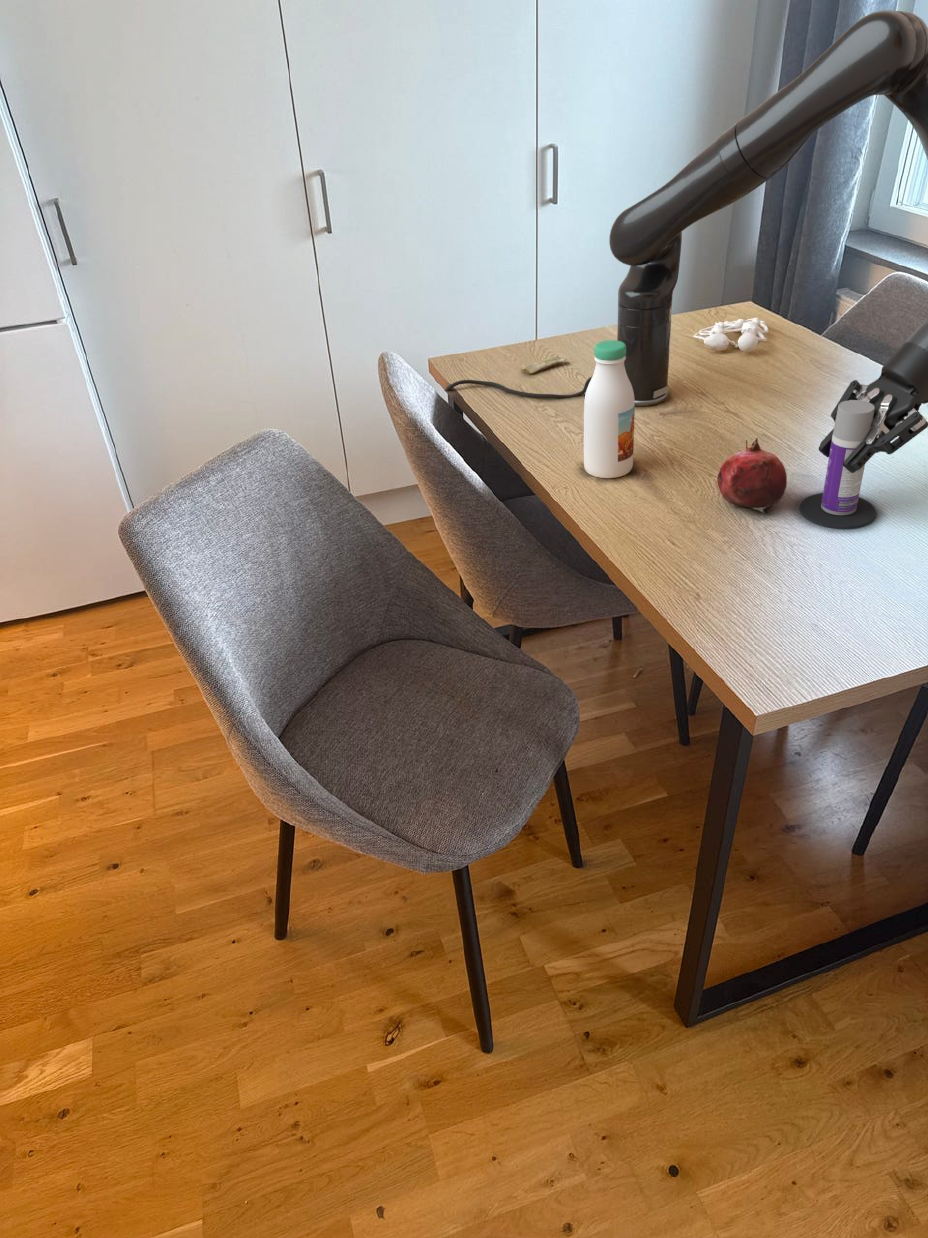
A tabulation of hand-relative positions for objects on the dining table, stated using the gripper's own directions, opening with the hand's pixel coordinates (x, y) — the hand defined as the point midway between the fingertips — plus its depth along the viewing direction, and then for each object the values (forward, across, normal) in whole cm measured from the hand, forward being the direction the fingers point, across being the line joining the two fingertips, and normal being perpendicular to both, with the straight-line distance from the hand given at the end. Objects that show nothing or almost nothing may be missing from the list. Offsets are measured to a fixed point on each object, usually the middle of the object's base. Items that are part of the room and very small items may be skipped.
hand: (835, 460), depth 123 cm
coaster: (+5, 0, +7) cm, 8 cm away
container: (+4, 0, +7) cm, 8 cm away
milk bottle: (+21, -26, -9) cm, 35 cm away
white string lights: (-12, -68, +24) cm, 74 cm away
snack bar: (+15, -73, -4) cm, 75 cm away
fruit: (+11, -7, 0) cm, 13 cm away
